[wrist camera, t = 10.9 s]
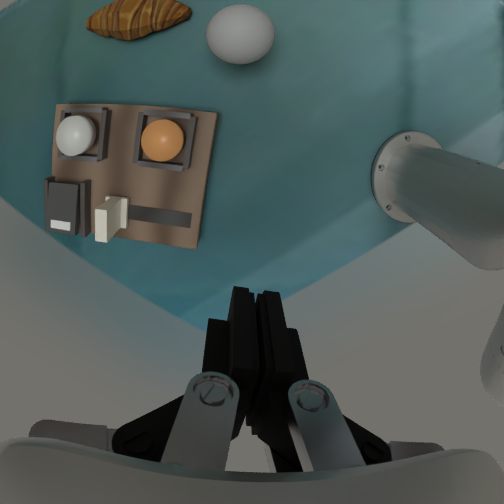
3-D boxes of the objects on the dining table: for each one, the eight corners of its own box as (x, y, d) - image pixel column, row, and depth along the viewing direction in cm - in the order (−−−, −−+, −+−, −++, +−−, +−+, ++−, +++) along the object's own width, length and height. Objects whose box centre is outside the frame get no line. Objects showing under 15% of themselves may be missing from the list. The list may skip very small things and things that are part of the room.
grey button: (98, 115, 27) (90, 116, 25) (94, 154, 29) (87, 157, 27) (65, 115, 27) (57, 116, 25) (62, 152, 28) (54, 155, 27)
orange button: (188, 121, 29) (185, 121, 28) (182, 161, 31) (179, 163, 30) (148, 117, 29) (144, 117, 27) (143, 156, 31) (138, 159, 29)
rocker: (81, 184, 31) (77, 185, 30) (78, 233, 33) (74, 235, 32) (53, 181, 31) (48, 182, 30) (50, 229, 32) (46, 230, 31)
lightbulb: (239, 85, 31) (239, 71, 21) (202, 52, 29) (186, 27, 19) (278, 52, 29) (294, 27, 19) (240, 19, 27) (241, -17, 17)
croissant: (87, 50, 28) (68, 44, 23) (94, 6, 25) (78, -5, 20) (189, 40, 28) (181, 30, 24) (195, -6, 26) (189, -22, 21)
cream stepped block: (128, 197, 33) (112, 211, 28) (127, 226, 34) (112, 243, 30) (107, 195, 32) (89, 208, 28) (106, 223, 34) (89, 239, 29)
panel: (218, 113, 32) (215, 112, 28) (199, 239, 39) (194, 255, 35) (67, 104, 30) (48, 104, 26) (63, 218, 37) (46, 231, 32)
